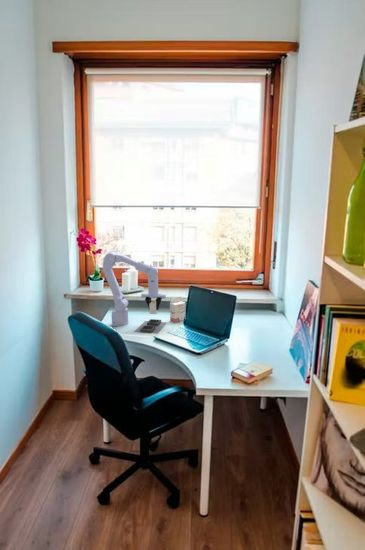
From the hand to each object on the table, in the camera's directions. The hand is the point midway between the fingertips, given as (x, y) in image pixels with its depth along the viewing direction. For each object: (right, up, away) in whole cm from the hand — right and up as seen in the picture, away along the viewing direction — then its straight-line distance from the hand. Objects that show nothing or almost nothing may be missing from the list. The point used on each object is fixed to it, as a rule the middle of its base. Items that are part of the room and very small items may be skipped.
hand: (153, 309), depth 241 cm
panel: (-1, -11, -4) cm, 11 cm away
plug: (0, -2, 0) cm, 2 cm away
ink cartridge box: (+14, -8, +9) cm, 18 cm away
